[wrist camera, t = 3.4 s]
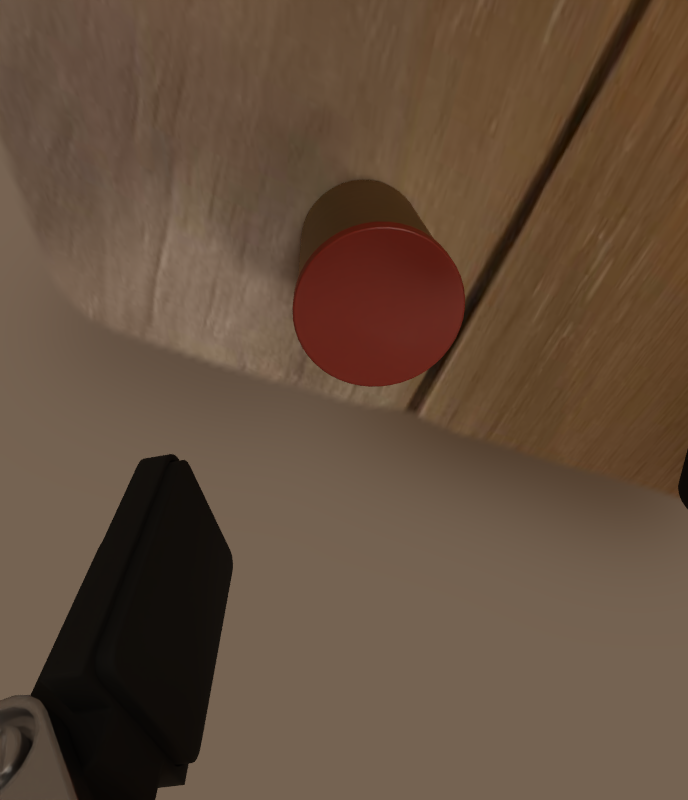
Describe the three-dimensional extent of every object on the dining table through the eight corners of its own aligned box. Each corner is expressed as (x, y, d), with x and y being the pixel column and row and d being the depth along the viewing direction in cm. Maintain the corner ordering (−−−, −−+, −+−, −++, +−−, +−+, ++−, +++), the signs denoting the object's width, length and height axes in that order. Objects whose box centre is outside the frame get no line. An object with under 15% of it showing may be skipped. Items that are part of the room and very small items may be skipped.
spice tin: (313, 312, 23) (313, 400, 17) (285, 191, 20) (272, 246, 14) (428, 290, 22) (469, 371, 16) (416, 163, 19) (461, 209, 14)
